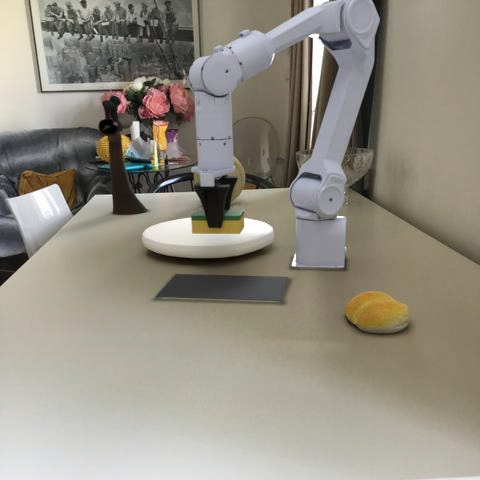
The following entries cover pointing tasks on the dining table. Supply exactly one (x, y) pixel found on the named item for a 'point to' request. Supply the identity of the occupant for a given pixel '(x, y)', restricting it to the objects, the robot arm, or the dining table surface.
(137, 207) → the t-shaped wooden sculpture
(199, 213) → the sponge
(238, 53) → the robot arm
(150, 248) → the plate
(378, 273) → the dining table surface
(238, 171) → the cantaloupe
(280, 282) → the sponge mat
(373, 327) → the bread roll
